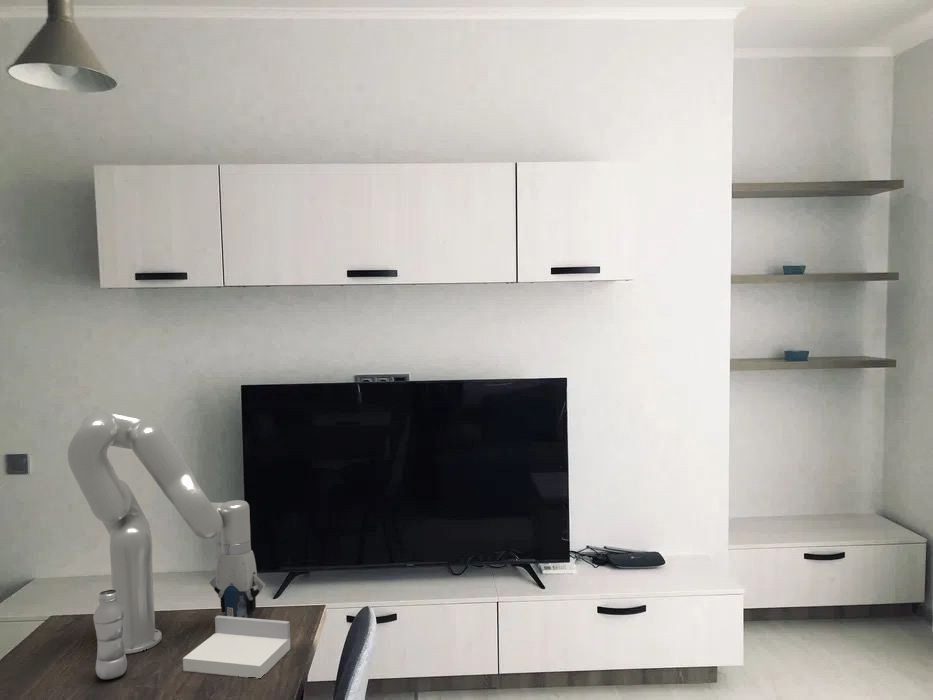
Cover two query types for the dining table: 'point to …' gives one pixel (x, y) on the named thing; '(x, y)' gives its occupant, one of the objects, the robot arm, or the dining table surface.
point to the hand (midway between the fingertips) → (238, 611)
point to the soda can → (235, 602)
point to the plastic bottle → (109, 636)
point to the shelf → (240, 647)
